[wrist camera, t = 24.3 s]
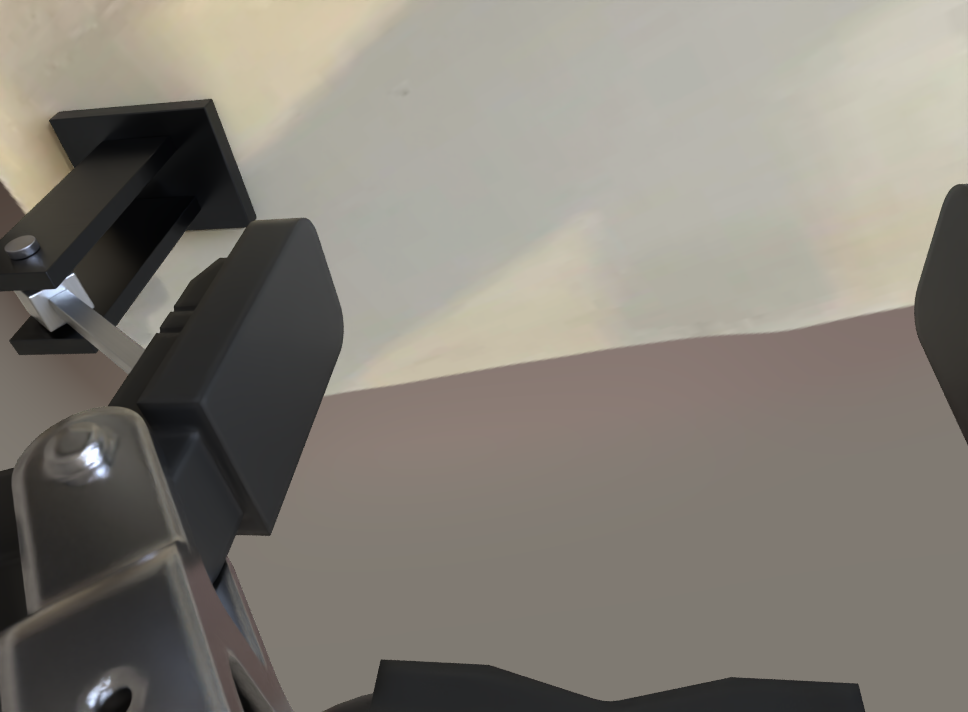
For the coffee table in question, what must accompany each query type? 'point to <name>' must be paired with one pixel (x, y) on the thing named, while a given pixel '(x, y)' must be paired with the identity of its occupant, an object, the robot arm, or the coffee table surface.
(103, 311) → the black lever stand
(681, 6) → the coffee table surface
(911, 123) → the coffee table surface
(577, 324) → the coffee table surface
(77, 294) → the red knobbed lever
